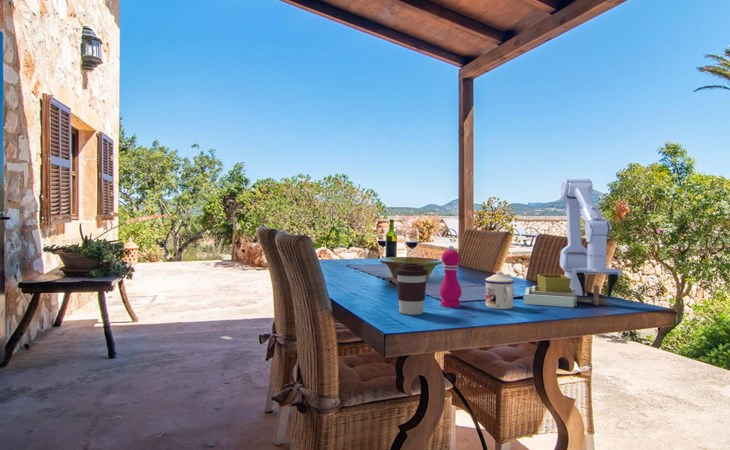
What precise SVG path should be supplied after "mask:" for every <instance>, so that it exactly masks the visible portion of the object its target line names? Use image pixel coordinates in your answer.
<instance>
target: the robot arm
mask: <svg viewBox="0 0 730 450" xmlns="http://www.w3.org/2000/svg"><path fill="white" fill-rule="evenodd" d="M560 184H561V185H560V197H561V201H562V202H563V203H565V208H566V209H565V210H566V229H567V230H566V232H567V233H566V235H567V245H566V246H565V247H563V248H562V249H561V250H560V257H559V267H560V268H561V269H562V270H563V271H564V276H566V277H569V278H571V281H570V287H569V288H574V289H575V291H576V293H577V296H582V297H583V296H584V297H585V296H586V297H587V296H588V294H587V292H586V275H602V276H607V297H608V298H611V296H612V293H613V289H614V287H615V284H617V283H616V282H617V281H618V279H619V277H621V276H622V269H621V268H618V269H617V268H607V244H608V243H607V238H608V237H609V235H610V233H611V232H610V231H611V225H610V222H609V220H608V219H606V218H604V217H603V216H602V213H601V211H600V208H599V206H597V205H596V204H594V202H593V199H592V192H593V182H592V180H591V179H590V178H586V179H585V178H584V179H583V178H582V179H581V178H580V179H578V178H577V179H576V178H575V179H572V178H571V179H568V178H564V179H563V180H562V182H561V183H560ZM581 208H582V209H581ZM581 216H582V220H583V222H584V224H585V225H584V234H585V241H586V242H587V248H586V247H584V245H583V244H582V226H581V225H582V223H581V222H582V221H581Z"/></svg>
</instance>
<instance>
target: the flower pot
mask: <svg viewBox="0 0 730 450" xmlns="http://www.w3.org/2000/svg"><path fill="white" fill-rule="evenodd" d="M536 279H537V286H538V289H539V291H542V292H559V293H568V292H569V287H570V281H571V278H569V277H566V276H565V275H564V274H563V275H562V274H548V273H547V274H542V273H541V274H539V273H538V274H536Z"/></svg>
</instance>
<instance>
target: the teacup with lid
mask: <svg viewBox="0 0 730 450" xmlns="http://www.w3.org/2000/svg"><path fill="white" fill-rule="evenodd" d="M503 273H504V272H503V271H501V270H498V271H496V274H492V275H491V276H489V277H486V278H485V280H484V282H485V306H486V307H487V308H489V309H495V310H508V309H509V310H510V309H512V308H513V307H514V283H515V281H514V279H513V278H510V277H508V276H507V275H505V274H503Z"/></svg>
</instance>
